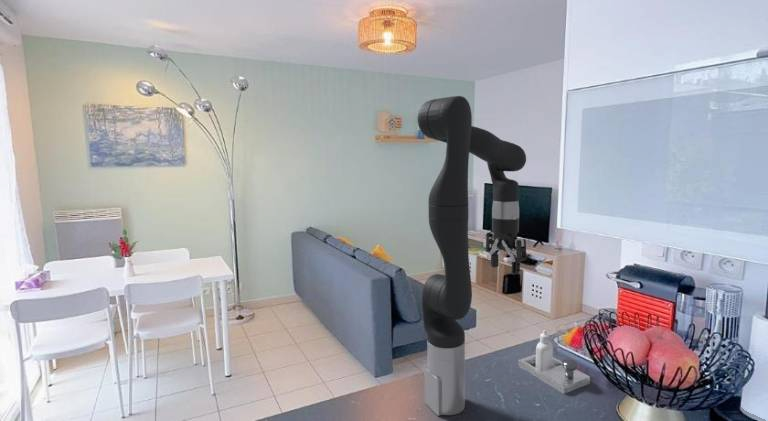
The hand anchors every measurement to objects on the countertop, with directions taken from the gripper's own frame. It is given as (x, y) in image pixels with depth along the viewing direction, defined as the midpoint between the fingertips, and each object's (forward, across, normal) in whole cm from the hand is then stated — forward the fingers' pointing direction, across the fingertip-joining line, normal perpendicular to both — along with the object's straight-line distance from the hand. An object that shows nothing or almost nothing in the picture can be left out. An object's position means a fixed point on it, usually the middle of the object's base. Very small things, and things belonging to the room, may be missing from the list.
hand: (504, 270), depth 120 cm
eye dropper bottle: (+28, +10, +6) cm, 31 cm away
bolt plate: (+28, +13, +6) cm, 32 cm away
